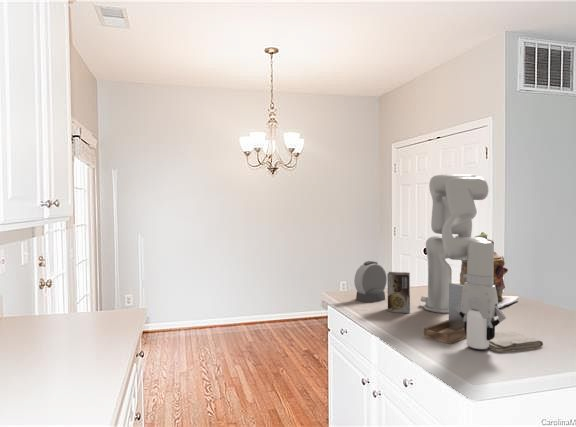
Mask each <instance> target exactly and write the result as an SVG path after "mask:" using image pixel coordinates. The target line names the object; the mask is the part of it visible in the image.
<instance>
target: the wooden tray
mask: <svg viewBox="0 0 576 427" xmlns="http://www.w3.org/2000/svg"><path fill="white" fill-rule="evenodd" d="M423 337H424V338H427V339H431V340H434V341H438V342H443V343H446V344H449V345H452V344H455V343H457V342H459V341H460V342H461V341H462V340H464V339H467V334H465V330H464V328H462V329H460V330H456V329H452V328H449V319H447V320H444V321H441V322H438V323H435V324H432V325H428V326H425V327H424V328H423Z"/></svg>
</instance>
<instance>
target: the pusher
mask: <svg viewBox="0 0 576 427" xmlns="http://www.w3.org/2000/svg"><path fill="white" fill-rule="evenodd" d="M463 286H464V285H460V283H459V284H458V283H449V313H448V320H449V328H452V329H456V330H460V329H462V328H464V327H465V322H464V321H463V318H462V317H461V316H460V314H459V313H458V311H457V310H456V309H455V307H456V306H457V305H459V304H460V303H461V297H462V291H463Z"/></svg>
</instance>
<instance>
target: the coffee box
mask: <svg viewBox="0 0 576 427" xmlns="http://www.w3.org/2000/svg"><path fill="white" fill-rule="evenodd" d="M386 276H387V312H388V313H389V312H390V313H400V314H401V313H406V314H410V312H411V291H410V290H411V282H410V281H411V279H410V278H411V273H410V272H404V271H403V272H399V271H388V273H386Z"/></svg>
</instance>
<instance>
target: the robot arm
mask: <svg viewBox="0 0 576 427" xmlns="http://www.w3.org/2000/svg"><path fill="white" fill-rule="evenodd" d="M428 184H429V186H428V187H429V191H430V192H429V193H430V196H431V199H432V200H431V201H432V210H431V220H430V222H431V223H430V224H431V226H430V227H431V231H432V232H433V233H434V234H437V235H432V236H430V237H427V239H426V242H425V251H426V257H427V296H422V295H421V297H420V302H422V303H425V304H424V306H423V308H424V309H425V310H426V311H428V312H432V313H439V314H440V313H441V314H442V313H443V314H444V313H445V314H449V283H452V279H453V278H452V272H453V271H452V268H451V265H450V263H448V261H447V260H446V259H450V260H453V261H458V260H459V261H461V260H467V274H464V275H463V277H464V278H466V281H467V282H465V283H464V286H463V291H462V297H461V303H460V304H459V305H457V306H456V307H455V309H456V310H457V311H458V313H459V314H460V316H461V317H462V318H463V321H464V322H465V327H464V330H465V334H467V313H468V312H469V310H470V309H472V310H477V311H480V314H481V315H482V318H484V319H487V323H488V326H489V327H487V340H491V339H493V338H494V336H495V332H496V327H497V326H498V325H500V324H501V323H502V322H503V321H505V320H506V319H507V316H506V315H505V314H504V313H503V312H502V310H501V309H500V308H498V298H497V291H496V287H495V285H493V276H494V275H493V270H494V252H495V244H494V245H493V243H492V242H490V241H488V240H487V239H488V238H487V239H485V238H478V237H475V236H474V237H472V232H473V231H472V230H473V221H472V220H473V219H474V218H475V217H476V215H477V208H476V204H475V201H483V200H485V199H486V198H487V197H488V194H489V185H488V183H487V180H486V179H485V178H484V177H482V176H479V175H476V174H437V175H433V176H432V177H431V178H430V180H429V182H428ZM438 234H439V235H438ZM496 317H498V318H497V319H495V318H496Z"/></svg>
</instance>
